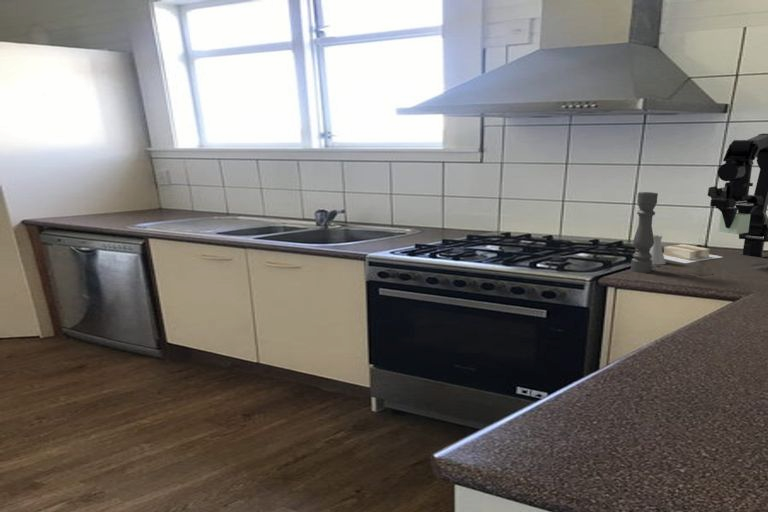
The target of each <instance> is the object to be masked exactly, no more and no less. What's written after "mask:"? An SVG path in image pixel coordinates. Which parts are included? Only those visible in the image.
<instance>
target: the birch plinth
mask: <svg viewBox="0 0 768 512" xmlns="http://www.w3.org/2000/svg"><path fill="white" fill-rule="evenodd" d="M710 250H711V249H710V248H707V247H701V246H696V245H691V244H690V245H689V244H685V243H683V244H681V243H680V244H674V245H667V246H666V245H665V246H664V247H663V253H664V255H666V256H671V257H675V258H680V259H685V260H696V259H702V258H708V257H709V254H710Z"/></svg>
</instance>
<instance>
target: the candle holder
mask: <svg viewBox="0 0 768 512" xmlns="http://www.w3.org/2000/svg"><path fill="white" fill-rule="evenodd" d="M658 195H659V194H658V192H652V191H651V192H650V191H647V192H646V191H644V192H643V191H641V192H638V193H637V201H636V202H637V206H638V208H639V210H638V211H637V212H636V214H637V215H638V226H637V228H636V232H635V235H634V237H633V241H632V243H633V246H634V247H635V248H634V249H635V251H634V253H632V257H633V258H631V260H630V261H631V263H630V271H633V272H636V273H651V272H652V268H653V266H652V260H651V258H652V255H651V254H650V252H649V251H650V249H651V248H652V246H653V245H654V238H653V235H654V233H653V232H654V231H653V227H652V225H653V217H654V216H655V215H656V211H654V210H655V207H656V205H657V204H658Z"/></svg>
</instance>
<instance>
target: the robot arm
mask: <svg viewBox="0 0 768 512" xmlns="http://www.w3.org/2000/svg"><path fill="white" fill-rule="evenodd" d="M755 160H756V164H757V165H758V168H759V173H758V178H757V179H756V185H755V189H754V194H749V193H750V187H753V186H754V183H753V182H751V179H752V178H751V177H752V171H753V170H752V169H753V165H754V161H755ZM723 162H724V163H723V164H722V165H720V166H719V168H718V170H717V175H718V179H720V180H721V181H724V182H725V183H724V186H723V187H719V188H718V187H717V186H716V185H715V186H711V187H708V190H707V196H708V197H709V198H710V204H709V206H710V207H715V209H718V211H720V212H721V213H722V215H723V219H724V223H725V226H726V228H730V226H731V225H732V222H733V220H734V218H735V215H736V213H743V214H751V215H750V223H749V231H748V233H741V234H738V239H739V240H744V242H743V248H742V254H741V255H743V256H748V257H756V258H761V259H763V258H767V257H768V255H764V249H765V248H764V247H765V243H767V242H768V214H767V210H768V133H759V134H758V135H756V136H754V137H751V138H748V139H733V141H731V143H729V146H728V148H727V150H726V153H725V155H724V157H723Z"/></svg>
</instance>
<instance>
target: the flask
mask: <svg viewBox="0 0 768 512" xmlns="http://www.w3.org/2000/svg"><path fill="white" fill-rule="evenodd" d="M653 238H654V245H653V246H652V248H651V249H650V251H649V252H650V254H651V255H652V258H651V260H652V267H654V268H655V267H657V268H660V267H663V265H666V264H667V263H666V259H664V256H663V253H664V251H663V249H662V239H663V235H658V234H657V235H656V234H653Z"/></svg>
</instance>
